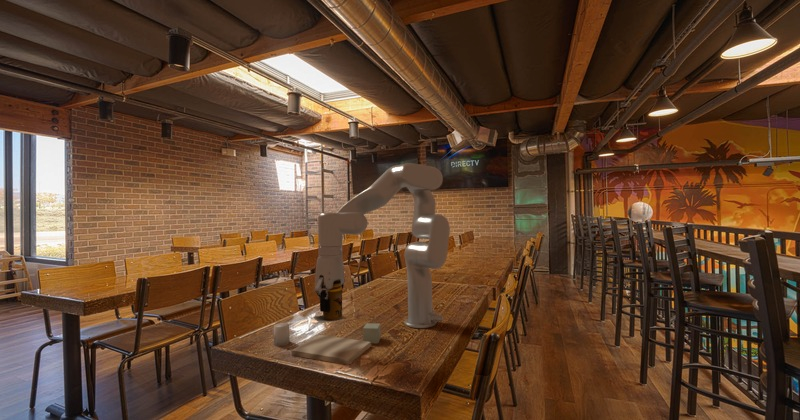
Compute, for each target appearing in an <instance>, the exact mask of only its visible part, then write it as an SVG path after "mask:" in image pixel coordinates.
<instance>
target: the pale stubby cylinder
mask: <svg viewBox="0 0 800 420" xmlns="http://www.w3.org/2000/svg"><path fill="white" fill-rule="evenodd" d="M290 339H291V337H290V323H289V322H280V323H276V324H274V325H273V345H274V346H276V347H282V346H286V345H289V344H290Z"/></svg>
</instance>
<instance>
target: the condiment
mask: <svg viewBox="0 0 800 420" xmlns="http://www.w3.org/2000/svg"><path fill="white" fill-rule="evenodd" d="M324 288H326V287H324ZM342 290H343V289H342V288H341V280H337V281H334V282H333V287H332V289H330V292H329V297H328V299H330V312H322V315H316V316H313V317H312V318H313V319H314V320H316V322H318V323H320V324H323V323H329V322H337V321H342V320H346V319H347V317H345V316H344V315H343V292H342ZM323 292H324V293H325V294H326V291H323Z"/></svg>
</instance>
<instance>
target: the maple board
mask: <svg viewBox="0 0 800 420" xmlns="http://www.w3.org/2000/svg"><path fill="white" fill-rule="evenodd" d="M371 344H372V343H371V342H368V341H363V340H361V339H353V338H352V339H351V338H347V337H346V338H345V337H339V336H338V337H337V336H330V335H322V334H318V335H316V336H314V337H312V338H311V339H309V340H308V341H305V342H304V343H302V344H300V345H299V346H297V347H295V348H293V349H292V350H291V356H294V357H300V358H306V359H311V360H318V361H323V362H328V363H336V364H341V365H350V364H351V363H353V362H354V361H355V360H356V359H358V358H359V357H360V356H361V355H363V353H365V352H366V351H367V350H369V349H370V348H371Z"/></svg>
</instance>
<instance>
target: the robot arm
mask: <svg viewBox="0 0 800 420" xmlns="http://www.w3.org/2000/svg"><path fill="white" fill-rule="evenodd" d="M442 185H443V174H442V172H441V171H440V169H438V168H437V167H435V166H431V165H425V164H419V163H413V162H405V163H400V164H395V165H392V166H391V167H388V168H387V169H386V170H385V172H383V174H381V175H380V176H379V177H378V178H377V179H376V180H375V181H374V182H373V183H372V184H371V185H369V187H367V189H365V190H363V191H361V192H360V193H358V194H356V196H354V197H353V198H352V199H350V200H348V201H347V202H346V203H345V204H343V205H342V206H341V207H340V208H339V210H338V211H336V212H321V213H320V214H319V215H318V217H317V231H318V233H317V234H318V237H317V239H318V240H317V241H318V242H317V243H318V244H317V245H318V248H317V249H318V250H317V251H318V252H317V254H318V257H317V259H316V265H315V276H314V286H315V287H314V292H315V293H316V296H318V299H319V311H320V312H321V313H323V312H330V299H328V297H329V292H330V289H332V287H333V282H334V281H337V280H341V288H342V293H343V292H344V291H343V289H344V286H345V283H346V278H345V266H344V258H343V250H344V249H343V246H344V245H343V235H349V236H355V235H356V236H357V235H360V234H362V233H363V232H365V231H366V229H367V227H368V223H369V222H368V219H367V217H366V214H369V213H371V212H373V211H376V210H379V209H381V208H382V207H384V206H386V205H387V204H388V203H389V202H390V201H391V200H392V198H394V196H395V195H396V194H398V192H399V191H400V190H401V189H403V188H406V189H407V190H408V191H409V192H410V194H411V196H412V198H413V201H414V202H413V203H414V205H413V212H412V213H413V214H412V222H411V233H412V236H413V237H415V238H418V239H421V240H422V239H424V240H428V241H427V242H425V241H423V242H422V241H414V242H413V241H412V242H411V243H409V244H408V245H406V247H405V250H404V253H403V255H404V261H405V267H406V273H407V274H406V275H407V316H408V317H406V318H405V319H404V321H403V323H404V325H405V326H407V327H409V328H412V329H428V328H431V327H432V328H433V327H434V326H436V325H437V322H441V323H442V322H443V321H444V316H443V315H442V314H436V313H435V310H433V278H432V273H431V269H433V270H437V269H440V268H442V267H443V266H444V265H445V263H446V261H447V257H448V250H449V240H450V233H451V232H450V231H451V229H450V223H449V220H448V219H447V217H445V216H444V215H442V214H436V206H437V205H436V199H435V197H434V194H433V193H432V192H431V191H432V190H433V191H434V190H437V189H439V188H440V187H441V186H442ZM324 287H326V288H324ZM323 291H326V294H325V293H324V292H323Z"/></svg>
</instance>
